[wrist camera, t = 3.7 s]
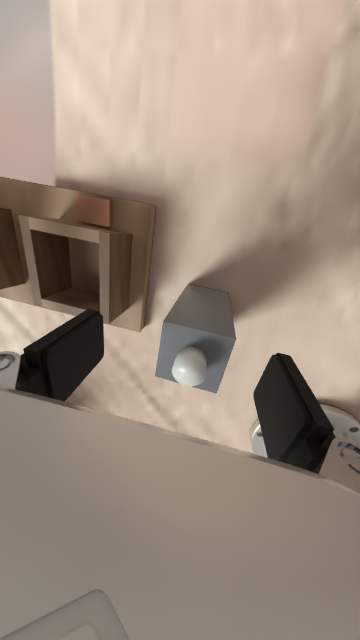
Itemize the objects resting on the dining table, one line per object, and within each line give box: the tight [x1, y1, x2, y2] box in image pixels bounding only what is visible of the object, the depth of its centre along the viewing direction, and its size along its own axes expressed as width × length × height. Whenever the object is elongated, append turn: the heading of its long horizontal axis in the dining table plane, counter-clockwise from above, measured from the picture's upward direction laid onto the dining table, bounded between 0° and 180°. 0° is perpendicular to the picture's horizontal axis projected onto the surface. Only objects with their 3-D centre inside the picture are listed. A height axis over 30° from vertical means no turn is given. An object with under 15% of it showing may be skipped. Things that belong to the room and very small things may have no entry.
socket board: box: [0, 177, 156, 332], centre depth 17 cm, size 22×12×5 cm, turn 80°
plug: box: [155, 284, 236, 393], centre depth 14 cm, size 4×4×10 cm
